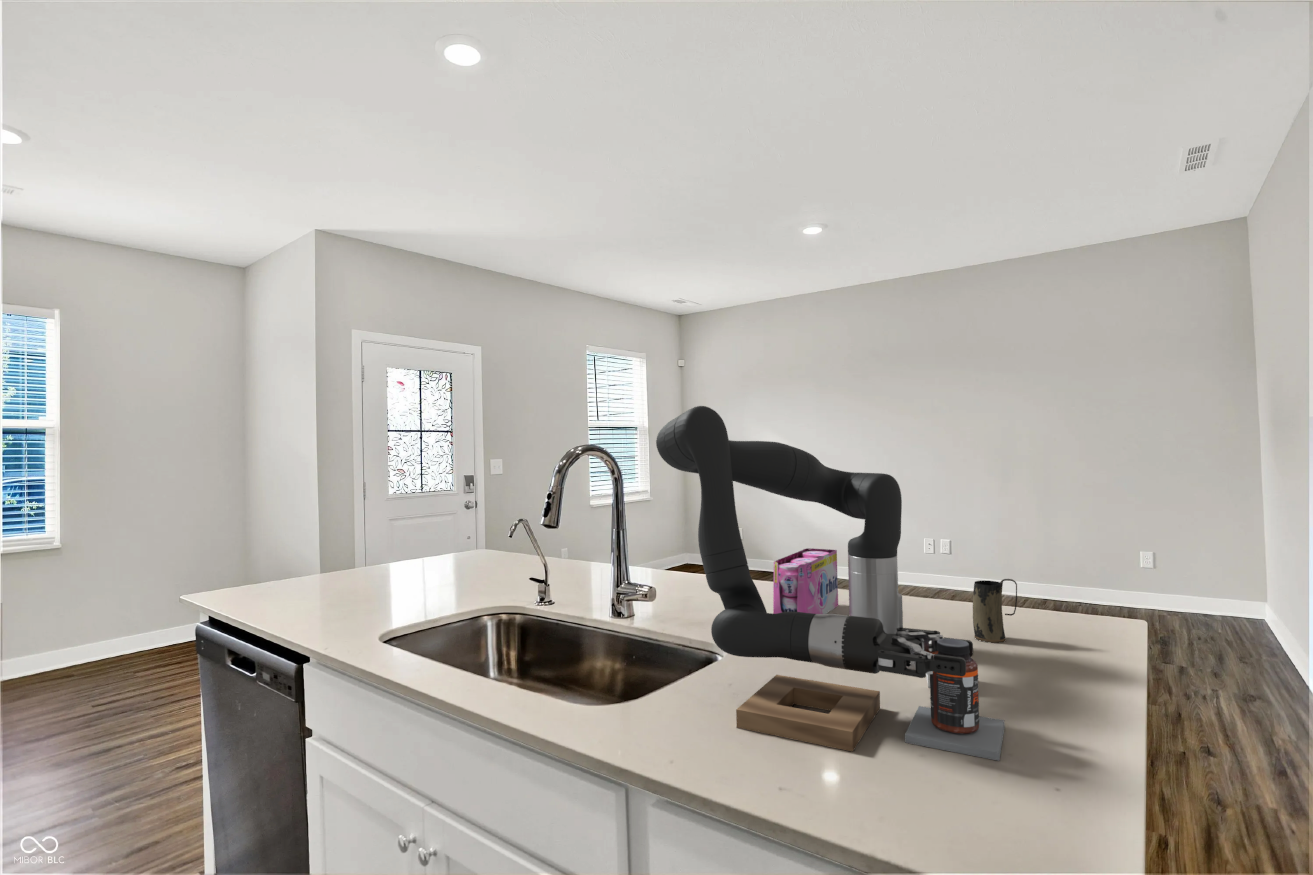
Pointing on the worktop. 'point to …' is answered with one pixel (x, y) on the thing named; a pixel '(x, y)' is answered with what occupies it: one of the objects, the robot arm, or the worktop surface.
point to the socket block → (833, 730)
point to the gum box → (806, 582)
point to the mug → (989, 611)
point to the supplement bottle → (955, 692)
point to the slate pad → (957, 736)
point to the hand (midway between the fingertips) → (969, 657)
